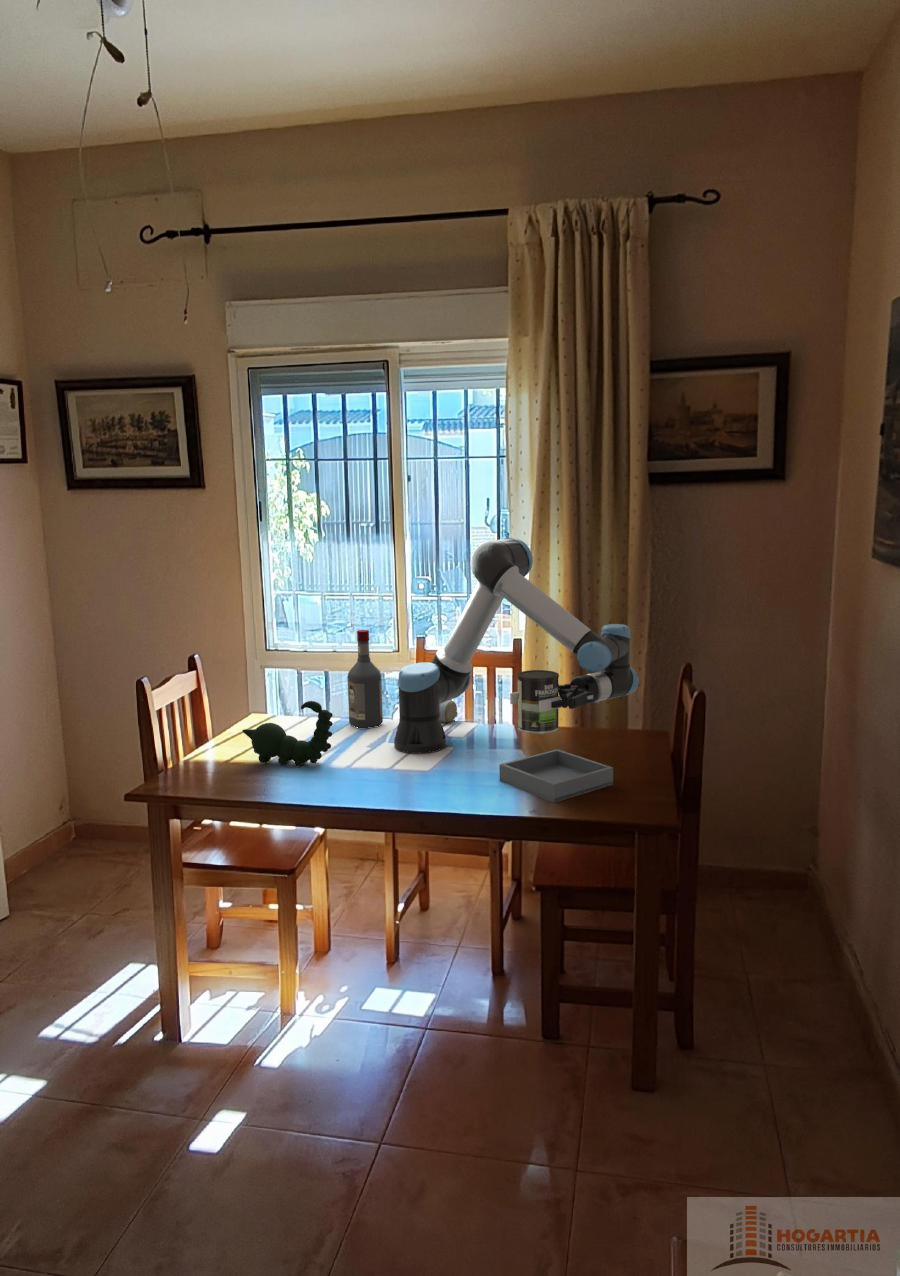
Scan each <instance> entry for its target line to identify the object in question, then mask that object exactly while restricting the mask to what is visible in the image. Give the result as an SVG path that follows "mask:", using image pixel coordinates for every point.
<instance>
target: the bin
mask: <svg viewBox="0 0 900 1276" xmlns="http://www.w3.org/2000/svg"><path fill="white" fill-rule="evenodd" d="M499 782H501V783H502V784H505V785H508V786H510V787H513V788H515V789H518V790H520V791H523V792H526V793H528V794H531V795H533V796H536V797H537V798H538V797H539V798H541V799H543V800H545V801H547V802H551V803H553V804H556V803H558V802H562V801H565V800H567V799H572V798H574V797H578V796H581V795H585V794H588V793H591V792H594V791H597V790H601V789H604V788H608V787H610V786H613V785H614V767H612V766H611V765H607V764H604V763H601V762H597V761H595V760H591V759H589V758H585V757H583V756H579V755H576V754H573V753H570V752H567V751H565V750H562V749H553V750H550V751H546V752H545V751H544V752H541V753H537V754H534V755H530V756H525V757H522V758H520V759H519V758H518V759H515V760H511V761H508V762H502V763H500V764H499Z"/></svg>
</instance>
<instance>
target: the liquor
mask: <svg viewBox="0 0 900 1276" xmlns="http://www.w3.org/2000/svg"><path fill="white" fill-rule="evenodd" d="M356 639H357V640H356V641H357V661H356V663H355V664H354V665H353V666H352V667H351V668H350V669H349V671H348V672H347V696H348V697H347V699H348V701H347V702H348V723H349V725H350V724H351V725H350V726H352V725H353V726H352V727H354V726H355V727H354V728H356V727H358V728H357V729H359V728H367V729H369V728H368V727H372V728H376V727H375V726H378V727H380V726H381V725H382V724H383V720H384V719H383V690H382V689H383V685H382V683H383V682H382V673H381V671H380V669H379V668H378V667H377V666H376V665H375V664H374V663H373V662H372V661H371V658H370V630H368V629H359V630H357V631H356ZM381 723H382V724H381ZM380 724H381V725H380ZM379 725H380V726H379Z"/></svg>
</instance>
